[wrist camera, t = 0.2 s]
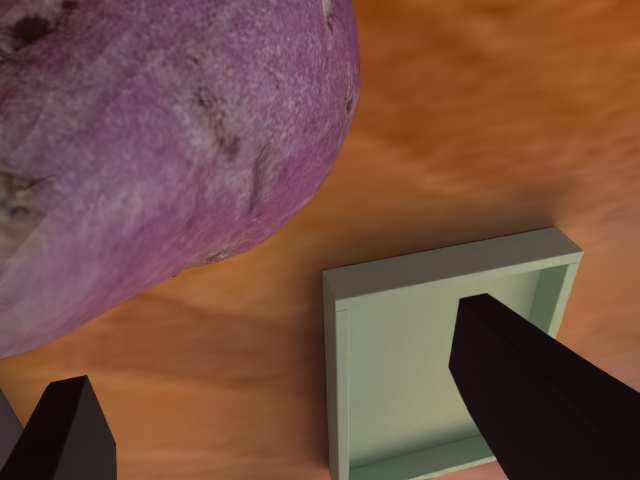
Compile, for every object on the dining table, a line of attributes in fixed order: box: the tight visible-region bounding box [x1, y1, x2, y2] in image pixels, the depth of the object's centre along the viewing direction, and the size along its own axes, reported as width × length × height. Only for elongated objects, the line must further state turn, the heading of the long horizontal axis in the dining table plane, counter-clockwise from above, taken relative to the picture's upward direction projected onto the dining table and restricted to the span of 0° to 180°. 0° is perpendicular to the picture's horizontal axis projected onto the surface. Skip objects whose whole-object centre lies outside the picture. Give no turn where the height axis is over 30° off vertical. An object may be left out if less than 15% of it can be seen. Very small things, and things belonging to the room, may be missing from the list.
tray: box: [322, 227, 583, 480], centre depth 27 cm, size 15×11×2 cm
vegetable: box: [0, 0, 361, 359], centre depth 11 cm, size 10×10×15 cm
